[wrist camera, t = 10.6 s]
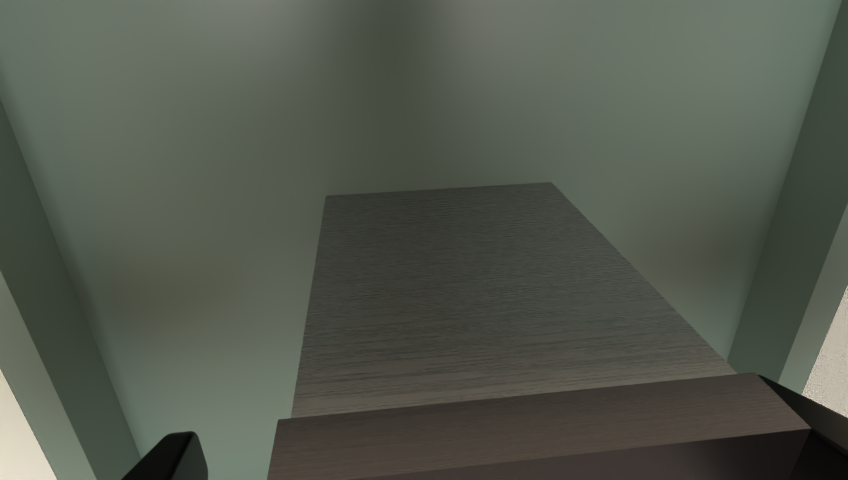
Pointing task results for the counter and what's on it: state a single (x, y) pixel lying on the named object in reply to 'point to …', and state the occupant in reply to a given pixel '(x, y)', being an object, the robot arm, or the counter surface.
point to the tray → (385, 183)
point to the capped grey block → (509, 354)
